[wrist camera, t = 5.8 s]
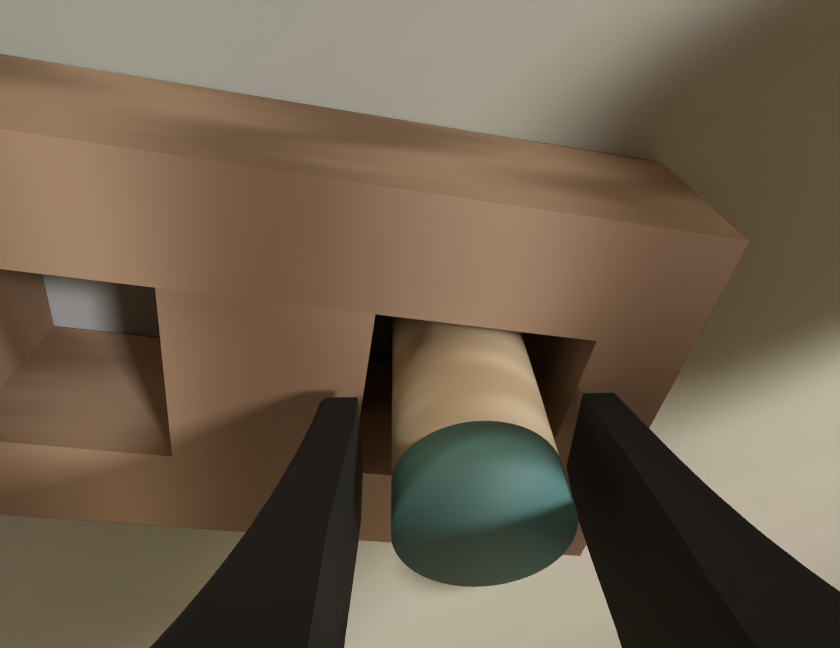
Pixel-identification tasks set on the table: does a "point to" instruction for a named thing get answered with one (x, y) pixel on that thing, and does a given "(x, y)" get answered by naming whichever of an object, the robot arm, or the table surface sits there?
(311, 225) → the socket block
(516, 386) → the peg
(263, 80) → the table surface
